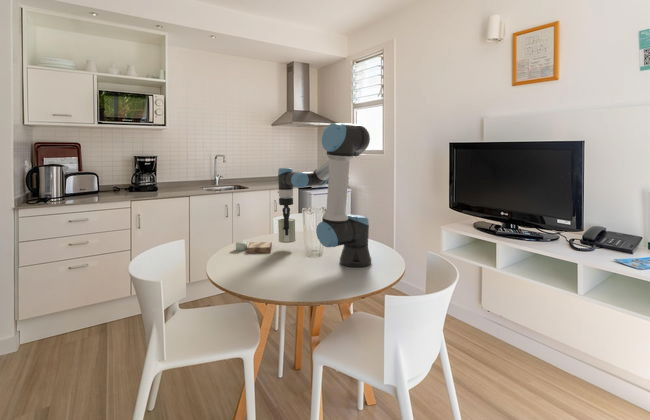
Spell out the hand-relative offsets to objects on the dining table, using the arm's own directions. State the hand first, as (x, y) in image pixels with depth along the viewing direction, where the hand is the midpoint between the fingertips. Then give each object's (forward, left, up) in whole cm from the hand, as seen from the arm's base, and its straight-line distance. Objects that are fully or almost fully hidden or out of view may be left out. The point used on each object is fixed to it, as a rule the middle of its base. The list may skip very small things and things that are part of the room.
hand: (287, 239), depth 195 cm
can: (0, 0, -1) cm, 1 cm away
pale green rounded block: (+16, +18, -6) cm, 25 cm away
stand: (+10, +11, -6) cm, 16 cm away
